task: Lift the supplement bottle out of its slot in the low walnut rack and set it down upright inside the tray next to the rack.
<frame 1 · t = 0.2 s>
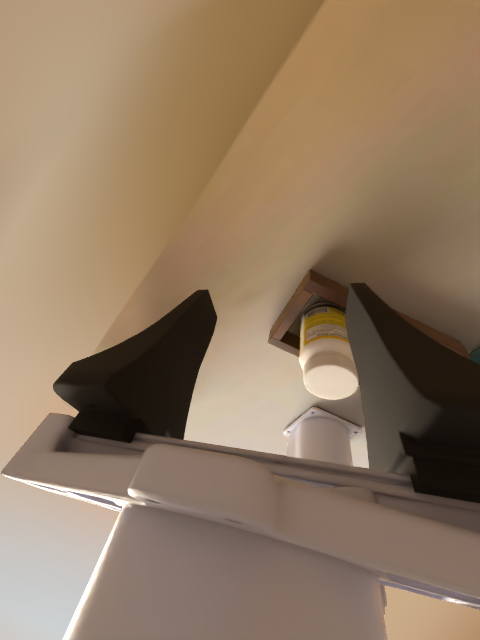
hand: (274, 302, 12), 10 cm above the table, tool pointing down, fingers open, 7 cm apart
rack: (355, 335, 24), on the table
supplement bottle: (323, 319, 24), resting in rack
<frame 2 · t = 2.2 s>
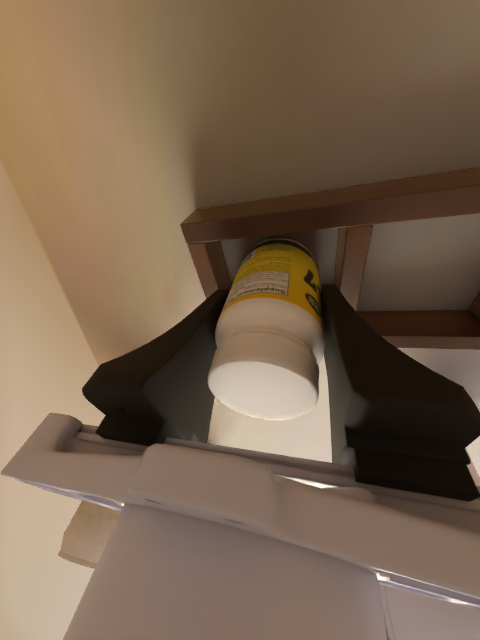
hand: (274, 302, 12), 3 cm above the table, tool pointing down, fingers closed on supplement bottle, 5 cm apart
rack: (344, 268, 13), on the table
supplement bottle: (278, 270, 14), resting in rack, touching gripper
beer can: (169, 394, 29), on the table
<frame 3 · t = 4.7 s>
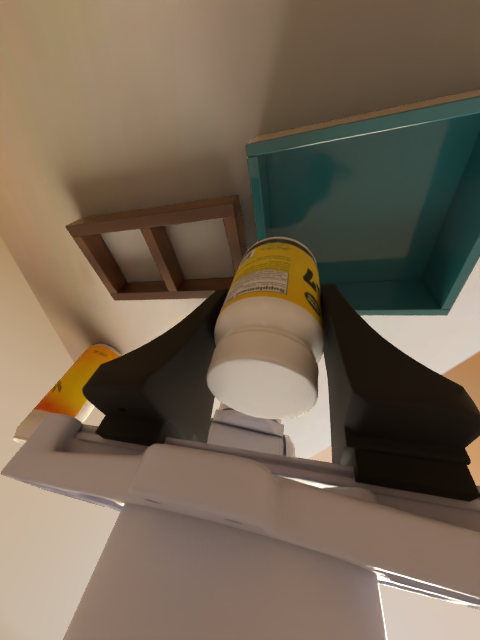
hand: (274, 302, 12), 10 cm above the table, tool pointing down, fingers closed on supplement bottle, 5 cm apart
rack: (169, 252, 23), on the table
tray: (351, 218, 18), on the table
supplement bottle: (278, 270, 14), point 7 cm above the table, touching gripper
beer can: (109, 352, 39), on the table
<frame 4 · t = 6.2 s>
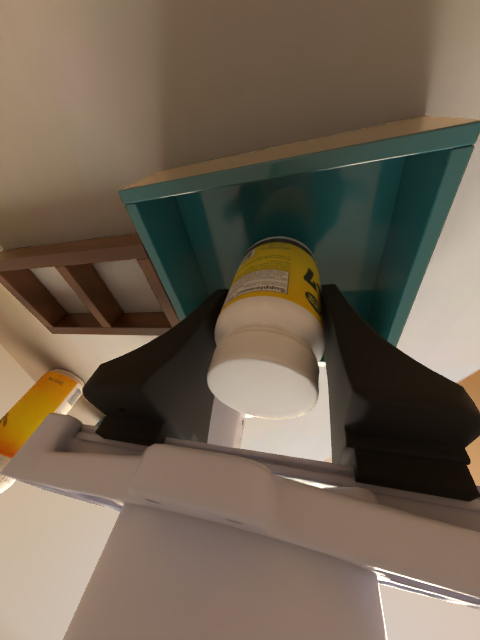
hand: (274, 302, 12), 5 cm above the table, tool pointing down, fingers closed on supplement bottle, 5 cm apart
rack: (101, 285, 21), on the table
tray: (281, 256, 16), on the table
supplement bottle: (278, 269, 14), point 2 cm above the table, touching gripper
beer can: (69, 377, 37), on the table
when the fingers open (3 cm above the table, at t = 7.2 s): supplement bottle stays where it is, resting on tray.
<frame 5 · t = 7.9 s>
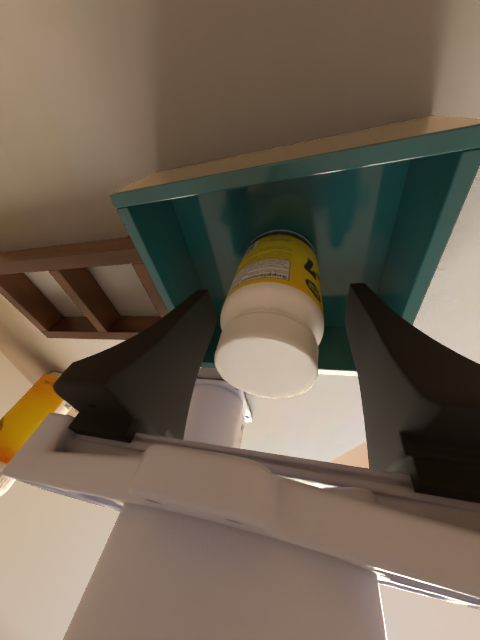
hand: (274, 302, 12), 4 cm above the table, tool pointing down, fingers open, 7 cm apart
rack: (97, 289, 21), on the table
tray: (280, 261, 15), on the table
supplement bottle: (279, 262, 15), resting on tray
beer can: (67, 380, 37), on the table
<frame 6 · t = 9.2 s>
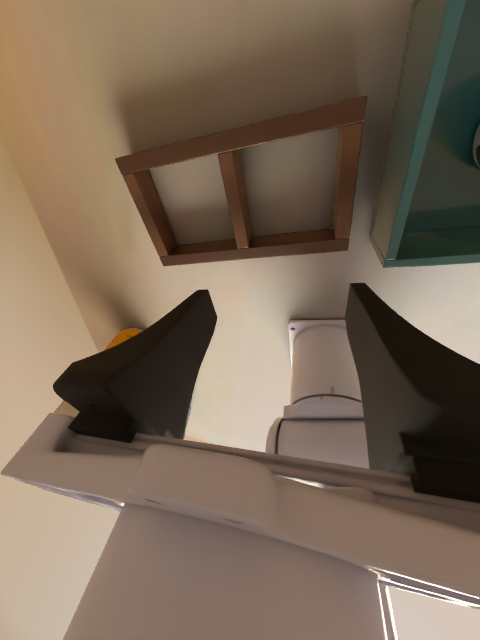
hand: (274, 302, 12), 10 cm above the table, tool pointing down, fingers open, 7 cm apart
rack: (240, 197, 18), on the table
beer can: (141, 338, 34), on the table
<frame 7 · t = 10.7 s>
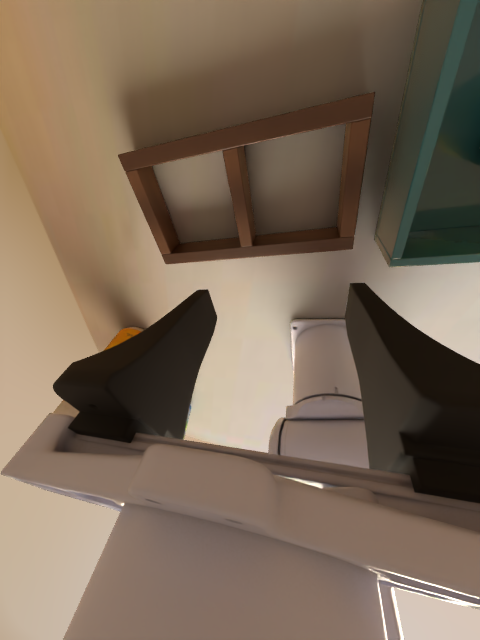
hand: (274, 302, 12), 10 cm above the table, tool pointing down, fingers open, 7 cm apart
rack: (244, 195, 18), on the table
beer can: (142, 337, 34), on the table
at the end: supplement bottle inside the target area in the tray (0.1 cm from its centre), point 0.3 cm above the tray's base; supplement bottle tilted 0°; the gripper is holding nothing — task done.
